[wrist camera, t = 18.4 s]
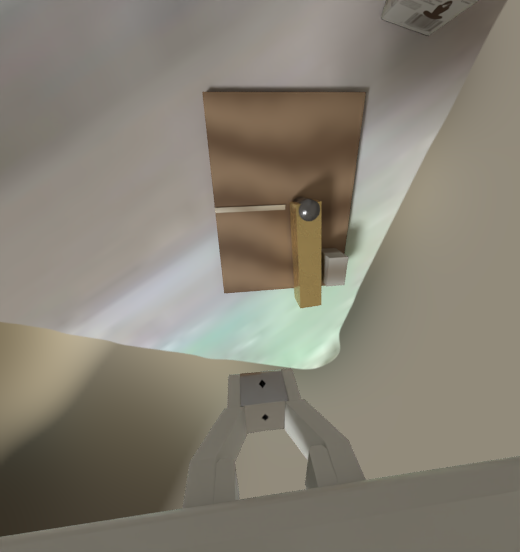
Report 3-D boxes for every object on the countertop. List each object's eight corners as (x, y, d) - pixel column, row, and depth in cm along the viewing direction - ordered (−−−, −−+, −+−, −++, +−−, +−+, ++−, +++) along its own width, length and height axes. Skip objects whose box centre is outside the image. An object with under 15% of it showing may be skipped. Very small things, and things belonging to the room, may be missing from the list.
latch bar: (288, 198, 28) (296, 201, 25) (311, 195, 29) (322, 198, 25) (293, 295, 34) (301, 309, 31) (312, 292, 35) (322, 306, 31)
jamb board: (203, 95, 24) (196, 76, 20) (361, 95, 26) (388, 77, 21) (224, 290, 34) (223, 307, 29) (337, 281, 35) (352, 296, 31)
